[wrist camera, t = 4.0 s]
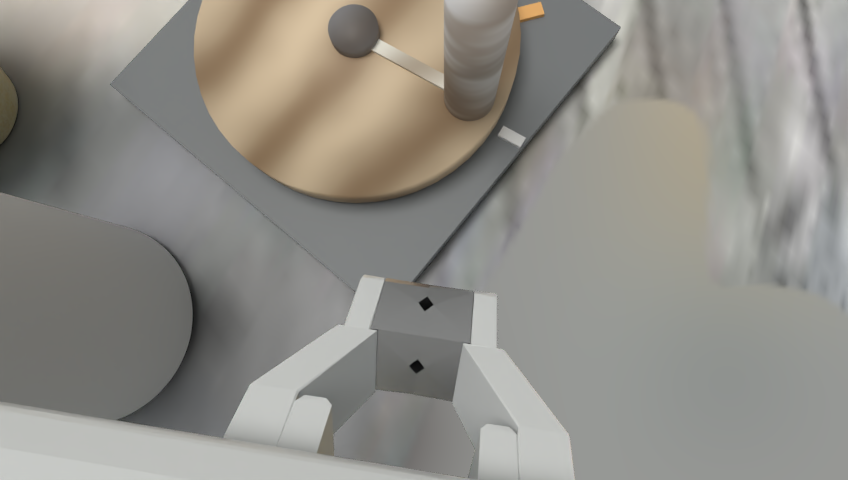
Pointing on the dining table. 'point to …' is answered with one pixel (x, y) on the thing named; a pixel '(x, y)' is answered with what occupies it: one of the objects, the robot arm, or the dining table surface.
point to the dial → (356, 88)
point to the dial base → (389, 219)
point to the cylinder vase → (86, 312)
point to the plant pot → (7, 105)
